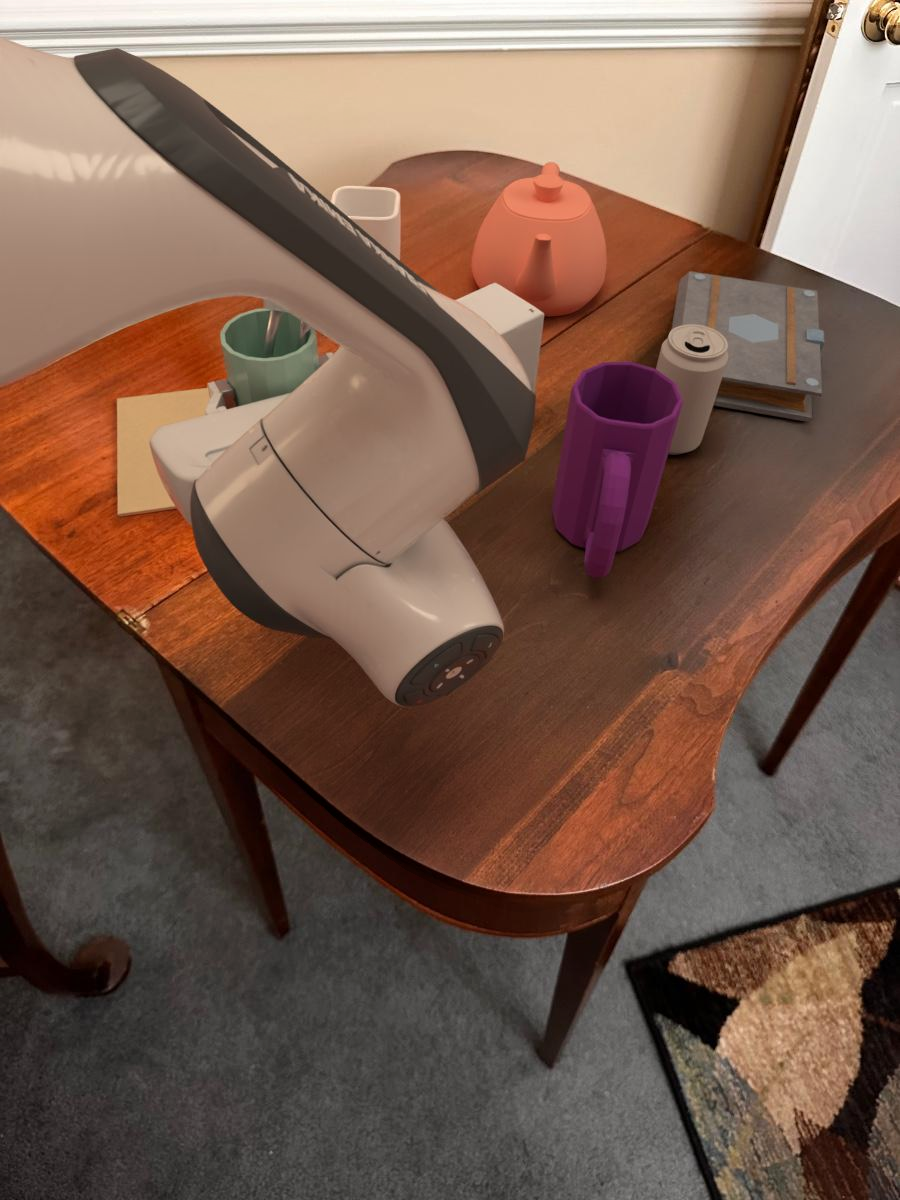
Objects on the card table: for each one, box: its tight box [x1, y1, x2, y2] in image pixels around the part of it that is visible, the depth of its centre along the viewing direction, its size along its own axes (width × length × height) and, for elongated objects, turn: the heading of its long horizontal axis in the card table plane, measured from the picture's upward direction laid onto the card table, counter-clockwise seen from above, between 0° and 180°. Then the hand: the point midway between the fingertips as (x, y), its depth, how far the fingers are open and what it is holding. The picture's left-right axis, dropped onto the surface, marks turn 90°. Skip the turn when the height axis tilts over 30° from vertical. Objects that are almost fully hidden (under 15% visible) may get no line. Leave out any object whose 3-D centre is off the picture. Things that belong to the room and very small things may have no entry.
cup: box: [330, 185, 402, 261], centre depth 98 cm, size 7×7×15 cm
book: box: [671, 270, 825, 423], centre depth 100 cm, size 21×16×5 cm
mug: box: [551, 361, 683, 580], centre depth 75 cm, size 9×16×15 cm, turn 170°
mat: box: [116, 387, 210, 518], centre depth 89 cm, size 24×18×1 cm
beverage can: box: [655, 324, 728, 456], centre depth 87 cm, size 6×6×12 cm
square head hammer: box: [262, 299, 289, 358], centre depth 61 cm, size 2×2×9 cm
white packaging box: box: [454, 283, 545, 394], centre depth 88 cm, size 7×7×13 cm
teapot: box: [471, 161, 608, 317], centre depth 105 cm, size 25×17×13 cm
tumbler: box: [219, 307, 319, 407], centre depth 64 cm, size 6×6×9 cm
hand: (270, 375), depth 64 cm, fingers closed on tumbler, 6 cm apart
